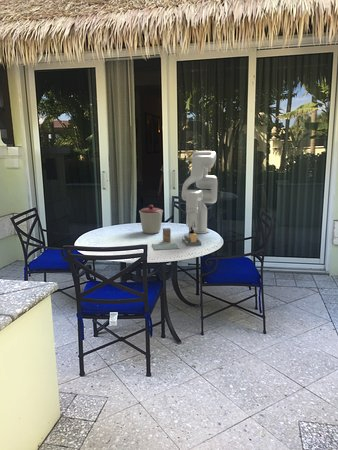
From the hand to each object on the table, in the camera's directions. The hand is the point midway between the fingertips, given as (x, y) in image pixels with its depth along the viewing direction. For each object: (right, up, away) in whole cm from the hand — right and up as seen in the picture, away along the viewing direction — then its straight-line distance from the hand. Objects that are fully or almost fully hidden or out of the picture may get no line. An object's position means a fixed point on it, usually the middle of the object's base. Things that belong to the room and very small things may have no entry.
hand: (191, 237), depth 242 cm
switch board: (0, -4, +1) cm, 4 cm away
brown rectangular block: (-17, -3, +4) cm, 17 cm away
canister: (-29, +2, +31) cm, 42 cm away
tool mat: (-17, -6, -9) cm, 21 cm away
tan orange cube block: (+1, -3, -4) cm, 5 cm away
